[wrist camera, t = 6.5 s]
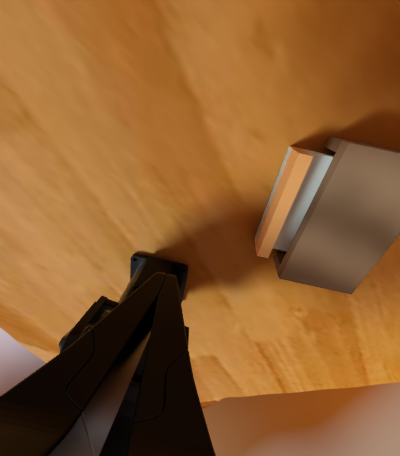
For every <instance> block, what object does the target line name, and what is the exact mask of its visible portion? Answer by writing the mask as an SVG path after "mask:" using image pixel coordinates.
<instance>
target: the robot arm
mask: <svg viewBox="0 0 400 456" xmlns="http://www.w3.org/2000/svg"><path fill="white" fill-rule="evenodd" d="M135 258H136V259H135ZM182 268H184V269H182ZM187 273H188V266H187V265H185V264H180V263H176V262H171V261H167V260H162V259H157V258H153V257H148V256H144V255H139V254H133V255H132V257H131V276H130V282H129V284H128V286H127V288H126V289H125V291H124V293H123V295H122V297H121V298H120V300H119V302H115V301H112V300H109V299H107V297H104V296H101V297H100V298H99V300H98V301H97V302H95V303H94V304H93V305H92V306H91V307H90V309H89V310H88V311H87V312H86V313H85V315H84V316H83V317H82V318H81V319H80V321H79V322H78V323H77V324H76V325H75V327H74V328H73V329H71V330H70V331H69V332H68V333H67V334H66V335H65V336H64V337H63V338H62V339H61V341H60V343H59V349H60V354H59V355H57V356H56V357H55V358H53V359H52V360H51V361H49V362H48V363H46V364H45V365H44V366H42V367H41V368H39V369H38V370H37V371H35V372H34V373H32V374H31V375H30V376H28V377H27V378H25V379H24V380H23V381H21V382H20V383H18V384H17V385H16V386H14V387H13V388H11V389H10V390H9V391H7V392H6V393H4V394H3V395H2V396H0V456H216V455H215V452H214V449H213V446H212V442H211V439H210V435H209V432H208V428H207V425H206V421H205V418H204V414H203V411H202V407H201V404H200V401H199V397H198V393H197V389H196V385H195V381H194V378H193V372H192V367H191V362H190V356H189V351H188V337H189V327H186V326H184V319H183V313H182V307H181V302H182V298H183V293H184V288H185V283H186V278H187Z"/></svg>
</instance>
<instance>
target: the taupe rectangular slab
mask: <svg viewBox="0 0 400 456" xmlns="http://www.w3.org/2000/svg"><path fill="white" fill-rule="evenodd" d="M325 147H326V148H328V149H330V150H332V151H334V152H336V153H335V155H334V157H333V159H332V161H331V163H330V165H329V167H328V169H327V171H326V173H325V175H324V177H323V179H322V181H321V183H320V185H319V187H318V190H317V192H316V194H315V196H314V198H313V200H312V202H311V204H310V206H309V208H308V210H307V212H306V214H305V216H304V218H303V220H302V222H301V224H300V226H299V228H298V230H297V232H296V234H295V236H294V238H293V240H292V242H291V244H290V246H289V248H288V250H287V252H286V254H282V253H278V252H276V254H275V256H274V258H273V259H274V262H275V266H276V269H277V273H278V276H279V279H284V280H288V281H293V282H297V283H302V284H307V285H311V286H316V287H320V288H325V289H330V290H334V291H339V292H343V293H348V294H352V293H353V292H354V291H355V289H356V288H357V287H358V286H359V285H360V283H361V282H362V281H363V280H364V278H365V277H366V276H367V275H368V273H369V272H370V271H371V270H372V268H373V267H374V266H375V265H376V263H377V262H378V261H379V260H380V258H381V257H382V256H383V255H384V253H385V252H386V251H387V250H388V248H389V247H390V246H391V245H392V243H393V242H394V241H395V240H396V238H397V237H398V236H399V235H400V151H398V150H393V149H388V148H384V147H379V146H374V145H370V144H365V143H360V142H355V141H351V140H346V139H341V138H337V137H332V136H330V137H329V139H328V141H327V144H326V146H325Z"/></svg>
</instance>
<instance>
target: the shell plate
mask: <svg viewBox="0 0 400 456" xmlns="http://www.w3.org/2000/svg"><path fill="white" fill-rule="evenodd" d="M333 157H334V155H329V154H325V153H320V152H315V151H311V150H306V149H301V148H296V147H292V146H289V148H288V151H287V153H286V156H285V158H284V161H283V164H282V166H281V169H280V172H279V174H278V177H277V180H276V182H275V185H274V187H273V190H272V193H271V195H270V198H269V201H268V203H267V206H266V209H265V211H264V214H263V216H262V219H261V222H260V224H259V227H258V230H257V232H256V235H255V238H254V242H255V247H256V253H257V256H259V257H264V258H268V257H269V255H270V253H271V251H272V248H273V249H278V250H283V251H287V250H288V248H289V246H290V244H291V242H292V240H293V238H294V236H295V234H296V232H297V230H298V228H299V226H300V224H301V222H302V220H303V218H304V216H305V214H306V212H307V210H308V208H309V206H310V204H311V202H312V200H313V198H314V196H315V194H316V192H317V190H318V187H319V185H320V183H321V181H322V179H323V177H324V175H325V173H326V171H327V169H328V167H329V165H330V163H331V161H332V159H333Z"/></svg>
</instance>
